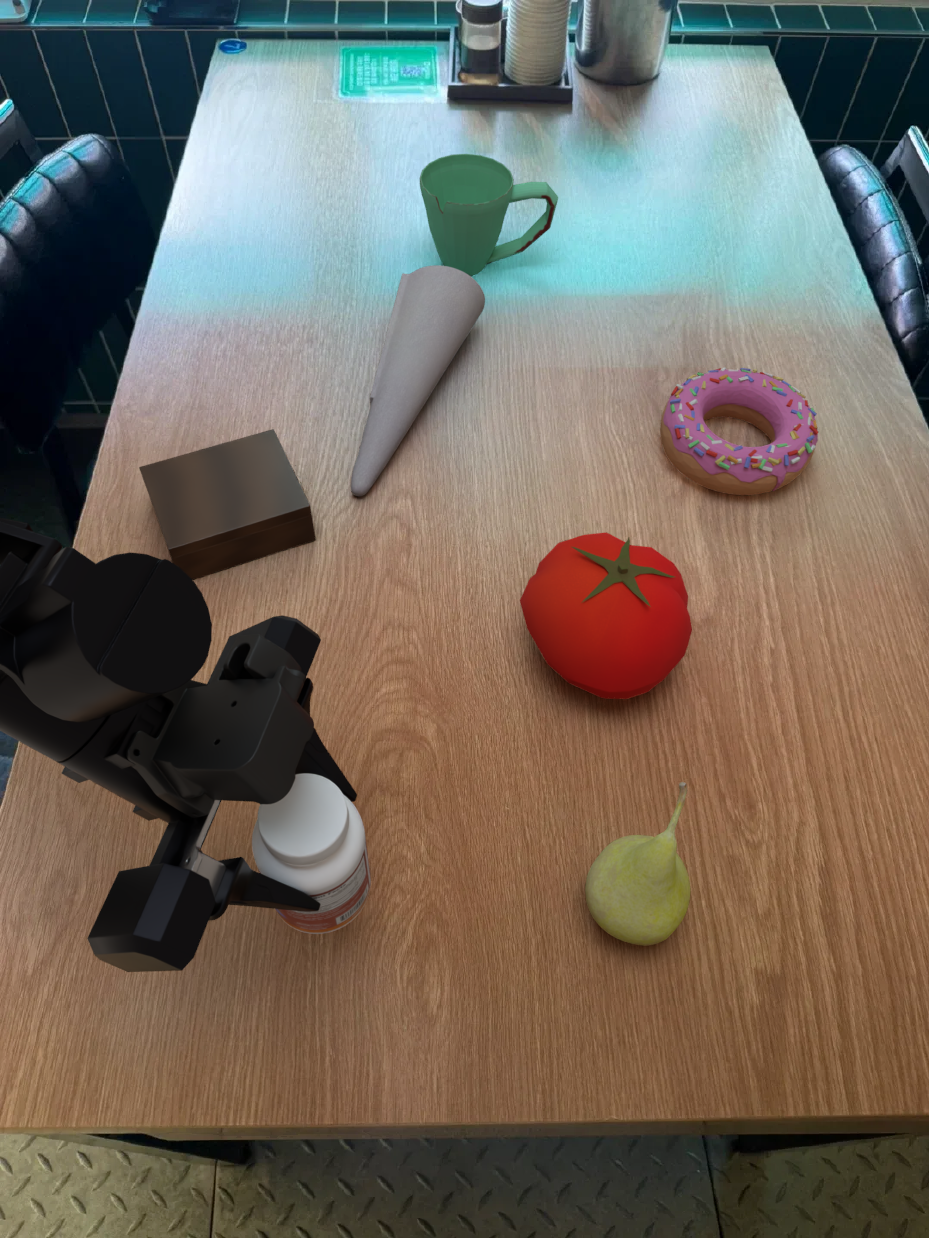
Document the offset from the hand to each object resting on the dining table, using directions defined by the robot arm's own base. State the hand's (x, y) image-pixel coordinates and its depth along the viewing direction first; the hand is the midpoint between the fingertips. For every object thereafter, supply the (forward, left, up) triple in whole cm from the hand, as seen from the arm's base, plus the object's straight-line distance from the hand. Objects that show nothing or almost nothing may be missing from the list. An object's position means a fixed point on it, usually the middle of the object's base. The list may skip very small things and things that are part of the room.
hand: (334, 852), depth 53 cm
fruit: (+18, -6, -13) cm, 23 cm away
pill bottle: (-1, +1, -7) cm, 7 cm away
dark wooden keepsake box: (+3, +38, -13) cm, 40 cm away
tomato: (+26, +13, -13) cm, 32 cm away
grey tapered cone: (+24, +45, -13) cm, 53 cm away
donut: (+49, +28, -13) cm, 58 cm away
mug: (+40, +64, -13) cm, 76 cm away
